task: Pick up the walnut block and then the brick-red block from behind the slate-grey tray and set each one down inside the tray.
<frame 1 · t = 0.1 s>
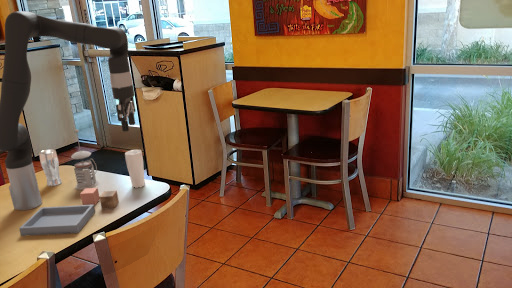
hand: (129, 127, 169), 29 cm above the table, fingers open, 8 cm apart
slate tray: (59, 223, 163), on the table
drinking glass: (138, 186, 192), on the table
brick block: (91, 202, 179), on the table
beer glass: (54, 184, 201), on the table
french press: (88, 185, 197), on the table
walnut block: (110, 205, 175), on the table
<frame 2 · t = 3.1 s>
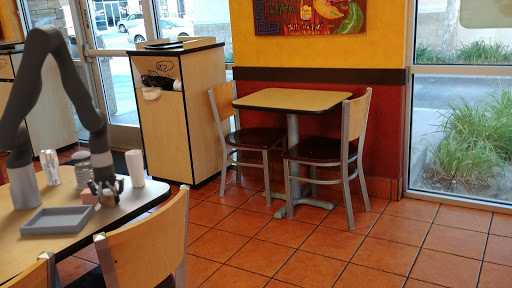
hand: (110, 204, 175), 0 cm above the table, fingers closed on walnut block, 5 cm apart
walnut block: (110, 205, 175), on the table, touching gripper
everything else where it was.
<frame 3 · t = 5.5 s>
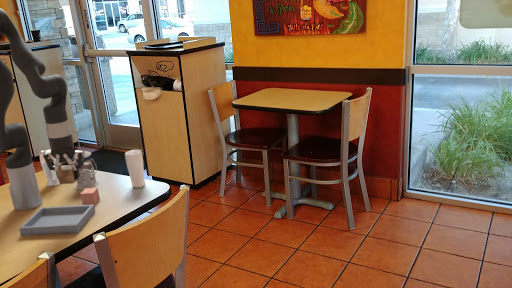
hand: (69, 179, 162), 15 cm above the table, fingers closed on walnut block, 5 cm apart
walnut block: (69, 181, 162), point 15 cm above the table, touching gripper
everything else where it was.
when the fingers open (4 cm above the table, at t = 8.3 s): walnut block drops 3 cm, resting on slate tray.
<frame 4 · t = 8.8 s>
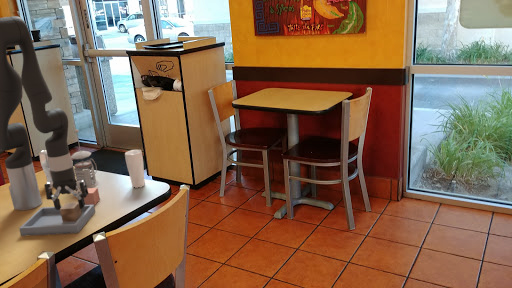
hand: (70, 208, 163), 5 cm above the table, fingers open, 8 cm apart
walnut block: (72, 218, 165), point 1 cm above the table, touching slate tray
everything else where it was.
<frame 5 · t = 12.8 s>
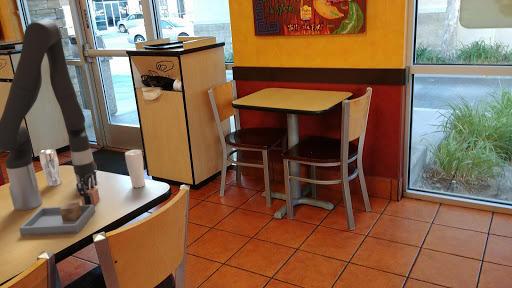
hand: (91, 201, 179), 0 cm above the table, fingers closed on brick block, 5 cm apart
brick block: (91, 202, 179), on the table, touching gripper
everything else where it was.
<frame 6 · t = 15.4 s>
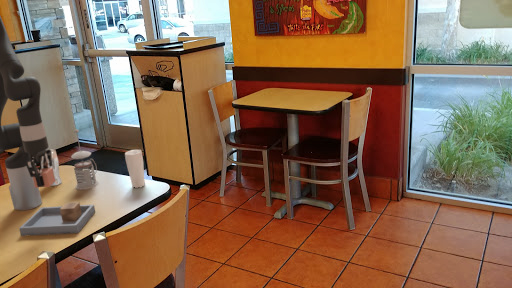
hand: (44, 183, 159), 15 cm above the table, fingers closed on brick block, 5 cm apart
brick block: (45, 184, 159), point 15 cm above the table, touching gripper
everything else where it was.
when the fingers open (4 cm above the table, at t = 18.4 s): brick block drops 2 cm, resting on slate tray.
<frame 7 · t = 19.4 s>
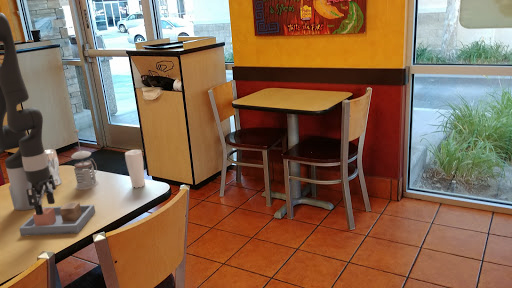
hand: (46, 208, 161), 6 cm above the table, fingers open, 8 cm apart
brick block: (46, 224, 161), point 1 cm above the table, touching gripper, slate tray
everything else where it was.
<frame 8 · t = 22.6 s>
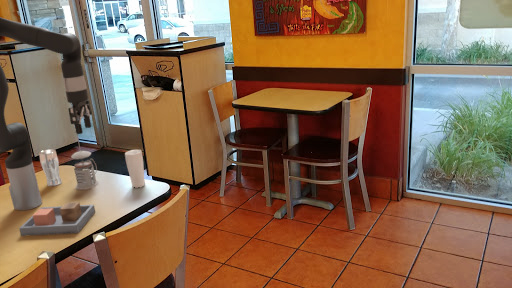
hand: (84, 130, 174), 28 cm above the table, fingers open, 8 cm apart
brick block: (46, 224, 161), point 1 cm above the table, touching slate tray
everything else where it was.
at the end: walnut block inside the target area on the slate tray (4.5 cm from its centre), point 0.8 cm above the slate tray's base; brick block inside the target area on the slate tray (4.4 cm from its centre), point 0.8 cm above the slate tray's base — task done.
